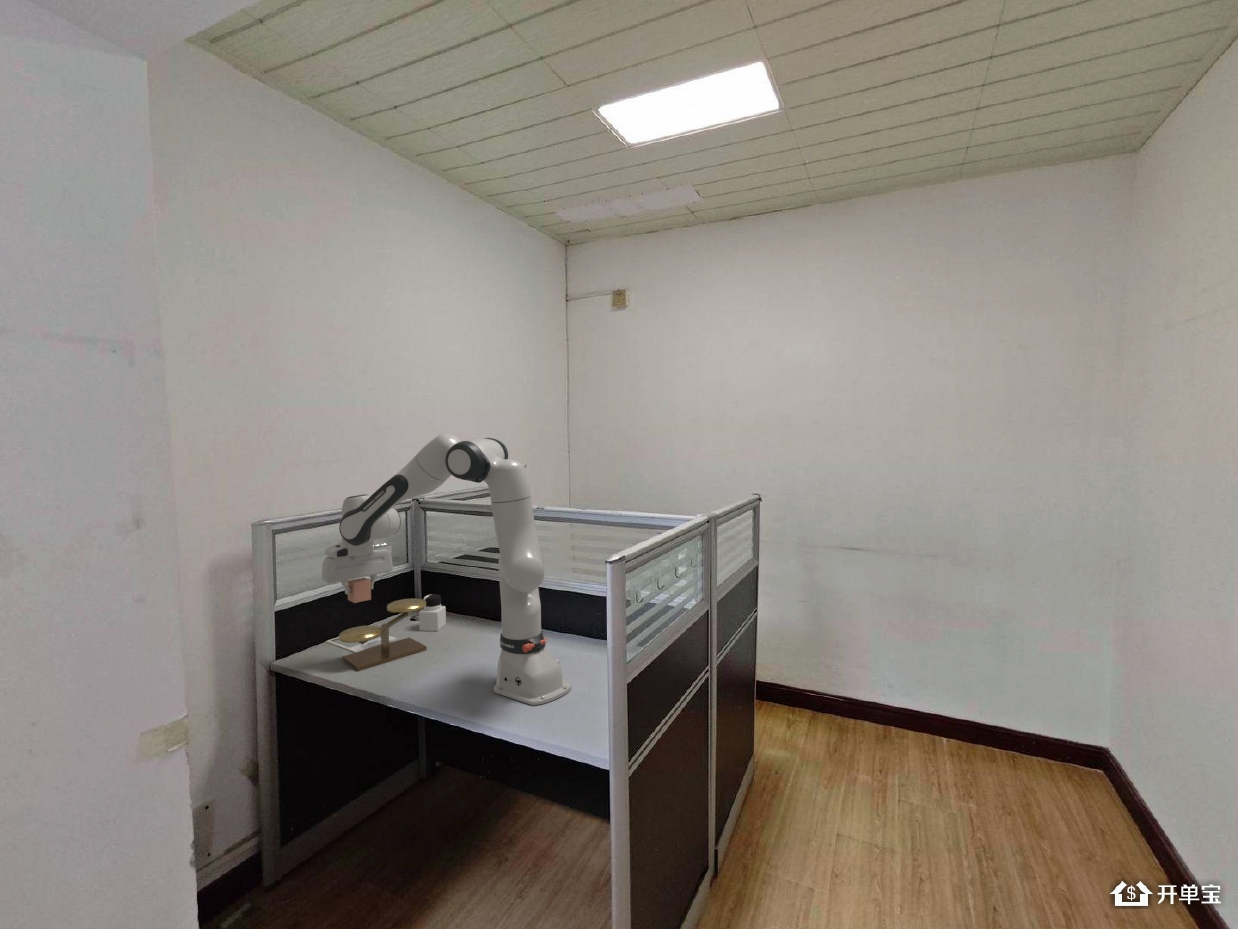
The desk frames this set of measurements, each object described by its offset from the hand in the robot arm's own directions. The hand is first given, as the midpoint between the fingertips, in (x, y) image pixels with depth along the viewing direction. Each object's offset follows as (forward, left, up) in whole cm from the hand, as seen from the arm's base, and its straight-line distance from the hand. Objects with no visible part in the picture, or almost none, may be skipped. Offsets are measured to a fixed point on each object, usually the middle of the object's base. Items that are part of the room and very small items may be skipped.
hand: (359, 591), depth 168 cm
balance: (0, -8, -22) cm, 24 cm away
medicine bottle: (+12, -31, -23) cm, 40 cm away
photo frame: (+18, -8, -23) cm, 30 cm away
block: (0, 0, -3) cm, 3 cm away
